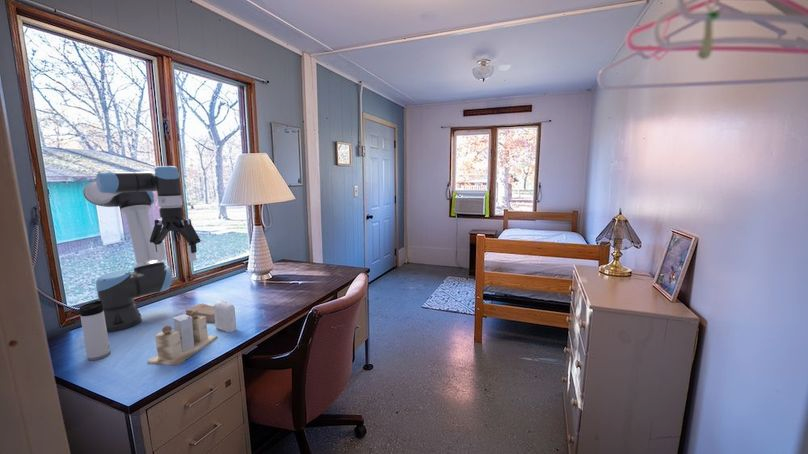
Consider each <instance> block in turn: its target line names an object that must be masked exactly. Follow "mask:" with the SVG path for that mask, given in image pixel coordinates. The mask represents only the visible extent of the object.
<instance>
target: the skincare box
mask: <svg viewBox="0 0 808 454" xmlns="http://www.w3.org/2000/svg"><path fill="white" fill-rule="evenodd" d="M172 323H173V331H180V339H181V348H182V352H184V351H187V350H189V349H192V348H194V338H193V325H192V318H191V317H189V316H188V315H186V313H182V314H180V315H176V316H174V317H172Z"/></svg>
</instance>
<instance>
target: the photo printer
mask: <svg viewBox="0 0 808 454" xmlns="http://www.w3.org/2000/svg"><path fill="white" fill-rule="evenodd" d="M213 307H214V316H215V322H214V324H215V328H216V329H218V330H220V331H222V332H226V333H232V332H235V331H236V329H237V319H236V318H237V317H236V309H235V308H236V307H235V305H234V304H233V303H232V302H229V301H227V300H217V301H215V302H214V304H213Z"/></svg>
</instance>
